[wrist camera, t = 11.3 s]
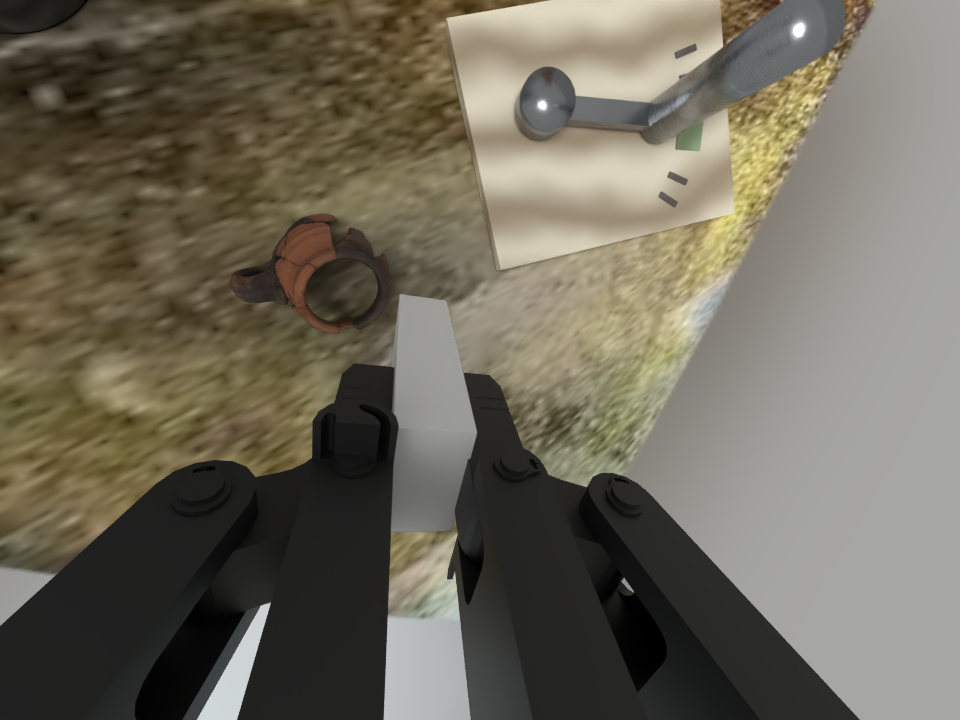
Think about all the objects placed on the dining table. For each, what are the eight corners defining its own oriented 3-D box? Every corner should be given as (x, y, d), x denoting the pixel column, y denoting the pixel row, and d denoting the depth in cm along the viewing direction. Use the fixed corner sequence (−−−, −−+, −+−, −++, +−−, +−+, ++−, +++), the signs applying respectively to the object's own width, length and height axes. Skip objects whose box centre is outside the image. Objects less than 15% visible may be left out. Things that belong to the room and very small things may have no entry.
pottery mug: (358, 196, 35) (386, 223, 29) (381, 290, 41) (408, 327, 35) (208, 225, 30) (206, 262, 25) (258, 324, 36) (265, 374, 31)
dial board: (444, 33, 33) (446, 16, 30) (701, -12, 35) (719, -30, 33) (496, 270, 37) (501, 270, 35) (719, 216, 40) (735, 212, 38)
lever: (513, 137, 33) (582, 39, 19) (515, 79, 32) (588, -68, 18) (684, 150, 35) (851, 71, 22) (690, 96, 34) (868, -22, 21)
